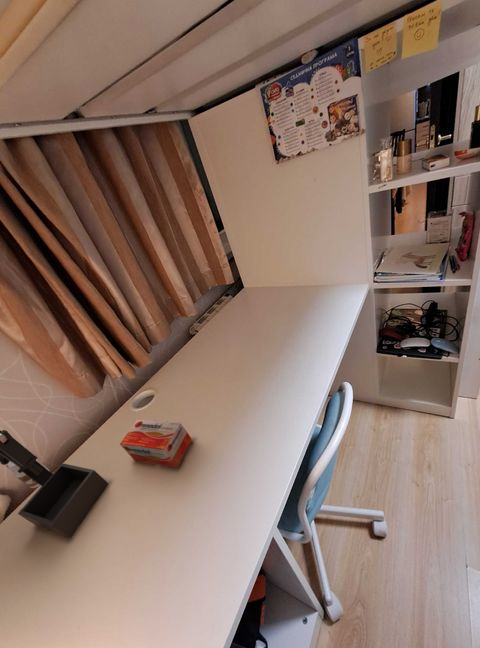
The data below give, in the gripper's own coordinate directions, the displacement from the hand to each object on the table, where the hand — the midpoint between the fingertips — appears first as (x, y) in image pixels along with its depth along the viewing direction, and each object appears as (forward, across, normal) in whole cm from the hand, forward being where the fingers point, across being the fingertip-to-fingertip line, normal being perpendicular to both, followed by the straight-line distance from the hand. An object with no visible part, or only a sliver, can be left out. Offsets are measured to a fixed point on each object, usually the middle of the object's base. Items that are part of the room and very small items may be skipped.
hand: (40, 477), depth 66 cm
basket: (+12, 0, 0) cm, 12 cm away
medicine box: (+13, -17, -17) cm, 27 cm away
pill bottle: (0, 0, 0) cm, 0 cm away
